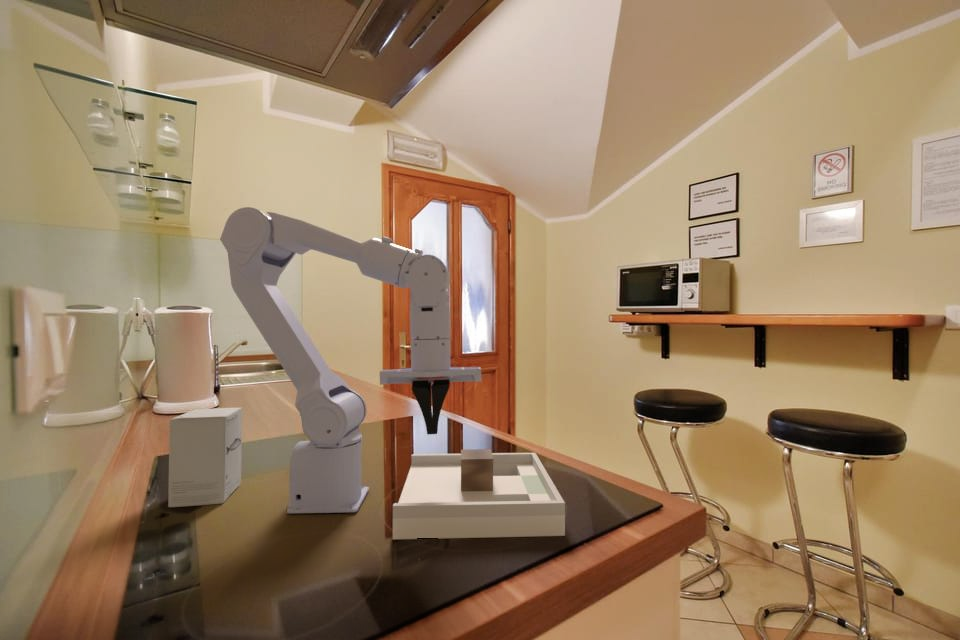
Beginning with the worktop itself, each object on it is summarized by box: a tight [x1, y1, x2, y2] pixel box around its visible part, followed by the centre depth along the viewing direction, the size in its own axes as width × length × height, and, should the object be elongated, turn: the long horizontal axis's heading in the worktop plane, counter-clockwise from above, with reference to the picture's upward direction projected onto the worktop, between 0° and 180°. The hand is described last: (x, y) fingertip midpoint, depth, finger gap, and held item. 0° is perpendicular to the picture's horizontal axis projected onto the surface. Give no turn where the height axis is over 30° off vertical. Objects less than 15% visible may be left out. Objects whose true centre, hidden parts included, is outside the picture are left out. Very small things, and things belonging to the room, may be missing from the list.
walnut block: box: [460, 448, 493, 492], centre depth 60 cm, size 4×4×4 cm
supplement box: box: [167, 407, 243, 508], centre depth 62 cm, size 7×7×13 cm
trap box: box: [392, 452, 566, 540], centre depth 60 cm, size 21×20×4 cm
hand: (432, 432), depth 60 cm, fingers closed
